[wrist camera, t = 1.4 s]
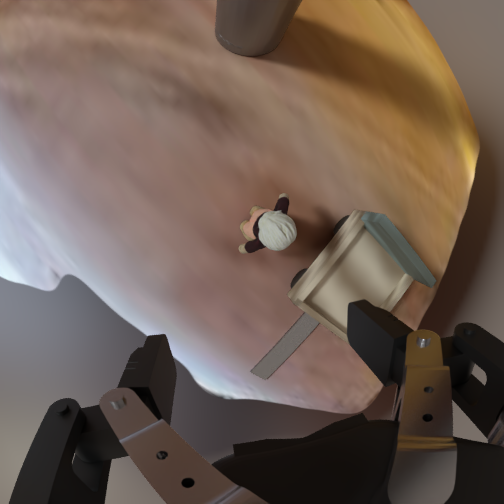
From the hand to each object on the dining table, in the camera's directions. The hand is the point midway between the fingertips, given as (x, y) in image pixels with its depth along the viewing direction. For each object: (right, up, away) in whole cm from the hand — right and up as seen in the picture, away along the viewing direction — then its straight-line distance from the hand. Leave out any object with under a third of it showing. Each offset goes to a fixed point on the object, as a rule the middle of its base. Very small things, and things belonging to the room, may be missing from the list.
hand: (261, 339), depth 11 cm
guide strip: (+9, -5, +27) cm, 29 cm away
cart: (+13, 0, +27) cm, 30 cm away
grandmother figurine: (0, +8, +24) cm, 25 cm away
